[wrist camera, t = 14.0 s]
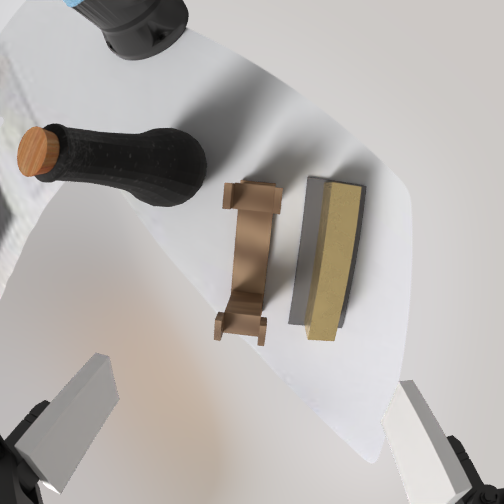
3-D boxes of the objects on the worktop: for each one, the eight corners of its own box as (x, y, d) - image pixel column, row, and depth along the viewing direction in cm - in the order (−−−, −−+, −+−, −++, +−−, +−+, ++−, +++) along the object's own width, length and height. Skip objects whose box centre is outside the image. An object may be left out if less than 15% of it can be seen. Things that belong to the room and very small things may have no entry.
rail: (324, 182, 40) (332, 182, 35) (350, 186, 40) (361, 186, 34) (304, 322, 45) (307, 339, 39) (327, 324, 45) (334, 341, 39)
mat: (307, 177, 40) (307, 177, 40) (365, 185, 40) (366, 186, 40) (288, 323, 45) (288, 324, 45) (341, 326, 45) (341, 327, 45)
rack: (237, 180, 41) (225, 177, 30) (279, 184, 41) (283, 182, 30) (226, 307, 46) (213, 343, 34) (265, 312, 45) (263, 349, 34)
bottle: (137, 183, 42) (-23, 193, 13) (170, 124, 40) (31, 53, 10) (190, 217, 43) (56, 275, 13) (227, 156, 40) (134, 95, 11)
